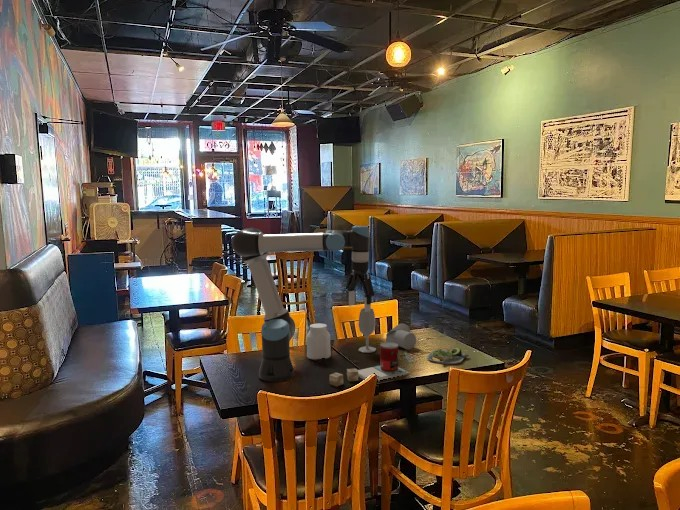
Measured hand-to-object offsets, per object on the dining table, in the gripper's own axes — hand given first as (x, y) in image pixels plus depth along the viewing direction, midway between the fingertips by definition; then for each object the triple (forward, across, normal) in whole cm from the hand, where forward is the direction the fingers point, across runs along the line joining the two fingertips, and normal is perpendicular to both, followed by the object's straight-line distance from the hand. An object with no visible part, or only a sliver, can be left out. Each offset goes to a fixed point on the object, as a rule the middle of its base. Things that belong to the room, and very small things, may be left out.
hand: (359, 308), depth 227 cm
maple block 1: (+27, -14, +19) cm, 36 cm away
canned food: (+25, -14, -8) cm, 30 cm away
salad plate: (+26, -13, -41) cm, 50 cm away
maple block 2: (+27, -13, +11) cm, 32 cm away
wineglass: (+27, +17, -15) cm, 35 cm away
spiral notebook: (+26, -14, -3) cm, 30 cm away
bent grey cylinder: (+26, +18, -37) cm, 49 cm away
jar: (+27, +22, +9) cm, 36 cm away
